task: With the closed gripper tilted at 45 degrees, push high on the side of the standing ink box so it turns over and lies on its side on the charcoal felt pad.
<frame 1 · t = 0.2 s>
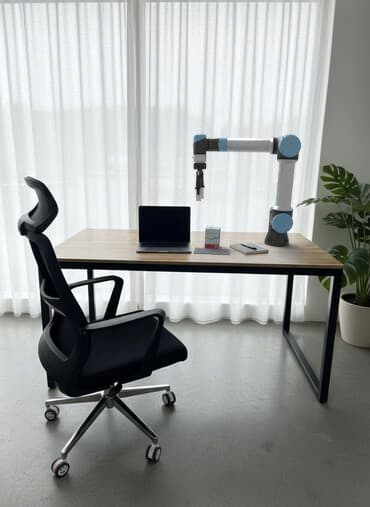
hand: (200, 199, 216), 27 cm above the table, tool pointing down, fingers open, 13 cm apart
felt pad: (211, 251, 210), on the table
ink box: (212, 247, 221), on the table
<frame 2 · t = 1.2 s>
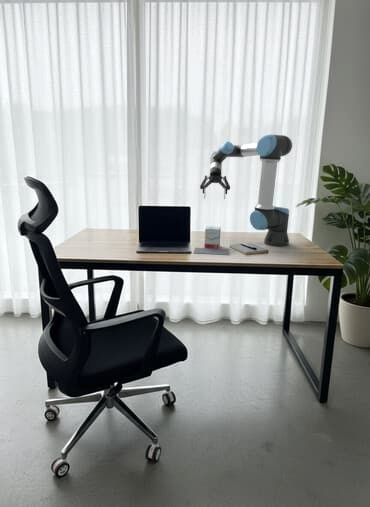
hand: (214, 197, 230), 27 cm above the table, tool tilted 45°, fingers open, 12 cm apart
nothing on the table moved.
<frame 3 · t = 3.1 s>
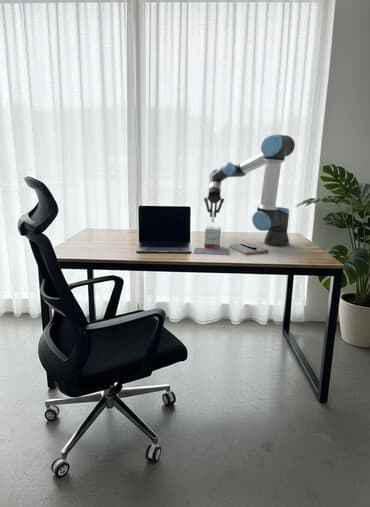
hand: (212, 221, 226), 14 cm above the table, tool tilted 45°, fingers closed
nothing on the table moved.
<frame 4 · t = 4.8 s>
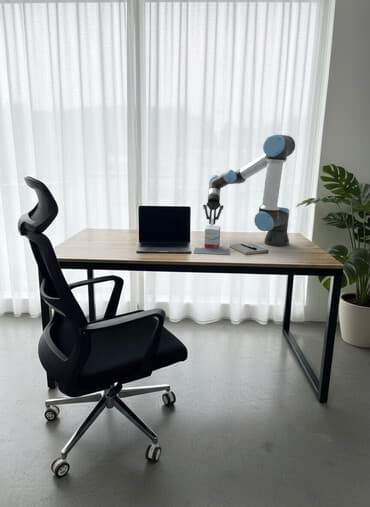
hand: (211, 228, 222), 10 cm above the table, tool tilted 45°, fingers closed
ink box: (212, 246, 221), on the table, touching gripper
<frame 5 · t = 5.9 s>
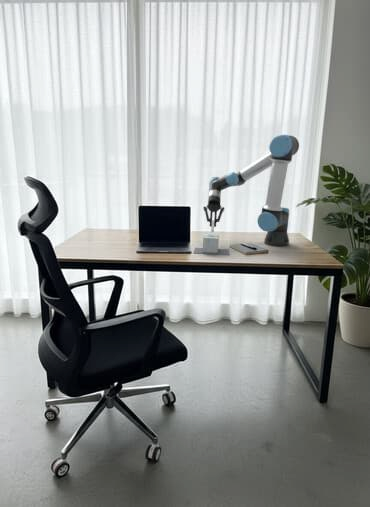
hand: (212, 230, 216), 10 cm above the table, tool tilted 45°, fingers closed
ink box: (211, 240, 215), point 5 cm above the table, touching felt pad
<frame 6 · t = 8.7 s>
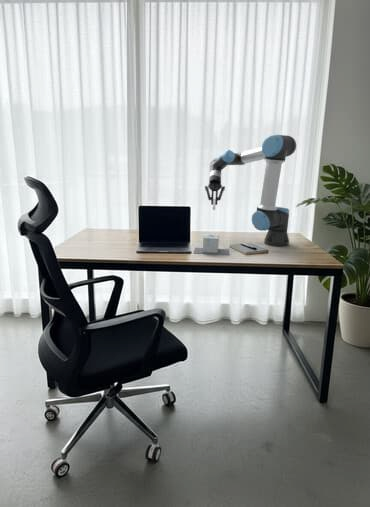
hand: (214, 208, 225), 21 cm above the table, tool tilted 45°, fingers closed
nothing on the table moved.
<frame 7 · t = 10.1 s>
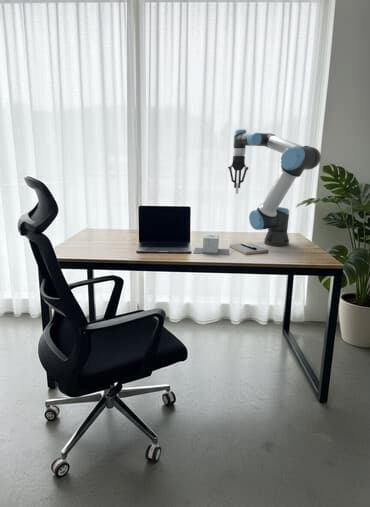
hand: (236, 193, 237), 29 cm above the table, tool pointing down, fingers closed
nothing on the table moved.
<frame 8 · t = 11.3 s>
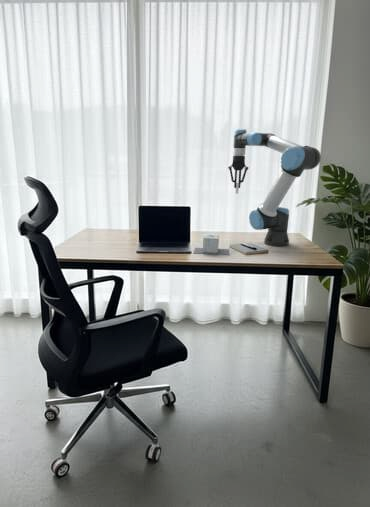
hand: (236, 193, 237), 29 cm above the table, tool pointing down, fingers closed
nothing on the table moved.
at the end: ink box tilted 91°; ink box touching felt pad; ink box inside the target area (1.5 cm from its centre), point 4.7 cm above the table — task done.
